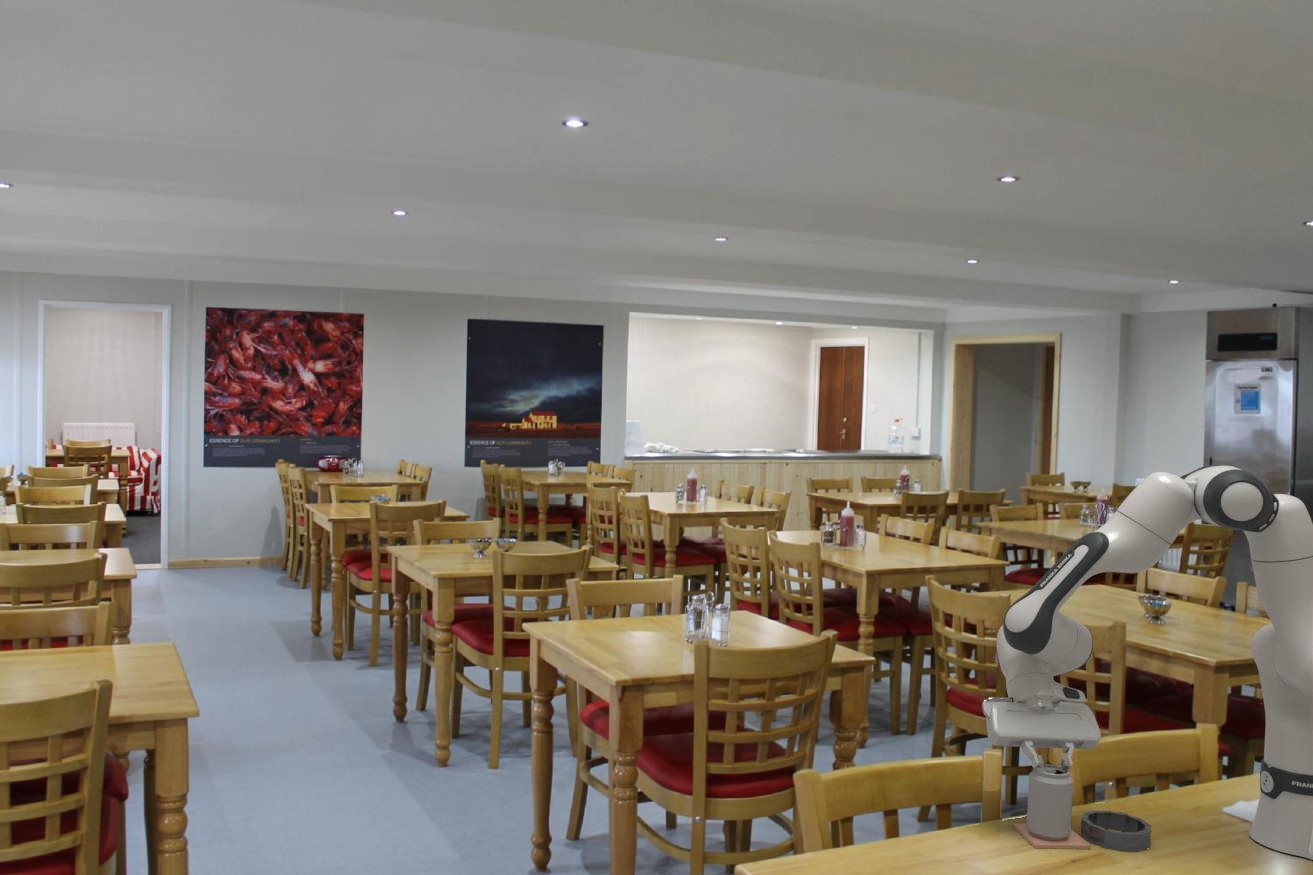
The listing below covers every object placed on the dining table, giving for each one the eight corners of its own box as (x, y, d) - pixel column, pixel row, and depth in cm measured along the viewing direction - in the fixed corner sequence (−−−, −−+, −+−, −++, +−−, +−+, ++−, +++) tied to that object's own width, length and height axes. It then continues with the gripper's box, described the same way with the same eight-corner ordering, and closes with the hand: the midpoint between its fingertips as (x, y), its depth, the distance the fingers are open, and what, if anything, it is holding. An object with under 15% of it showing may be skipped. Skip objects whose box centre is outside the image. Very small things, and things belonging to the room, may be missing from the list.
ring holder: (1130, 826, 210) (1131, 810, 210) (1162, 851, 198) (1163, 834, 198) (1070, 825, 209) (1071, 809, 209) (1099, 850, 197) (1100, 833, 197)
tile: (1065, 827, 208) (1065, 824, 208) (1090, 848, 198) (1090, 845, 198) (1012, 826, 207) (1013, 823, 207) (1035, 848, 197) (1035, 844, 197)
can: (1074, 844, 198) (1078, 776, 198) (1029, 839, 199) (1033, 772, 199) (1065, 828, 206) (1069, 763, 205) (1022, 824, 207) (1026, 759, 206)
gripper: (984, 687, 208) (1001, 755, 198) (1092, 692, 209) (1114, 760, 200) (974, 705, 212) (990, 773, 203) (1080, 710, 214) (1100, 777, 204)
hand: (1053, 766), depth 201 cm, fingers closed on can, 4 cm apart
